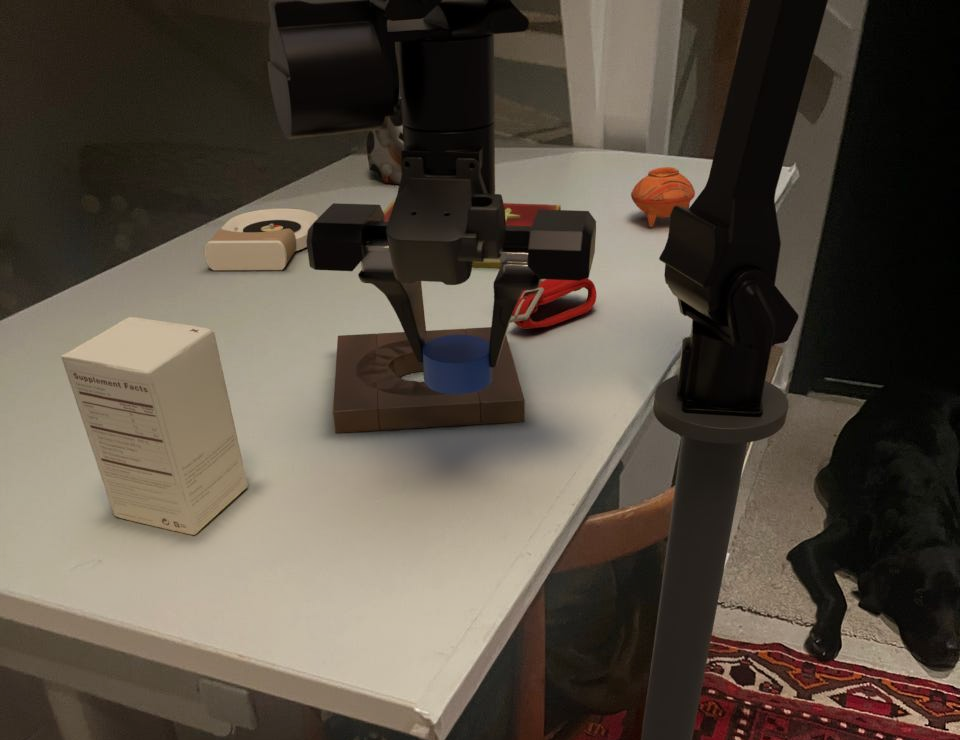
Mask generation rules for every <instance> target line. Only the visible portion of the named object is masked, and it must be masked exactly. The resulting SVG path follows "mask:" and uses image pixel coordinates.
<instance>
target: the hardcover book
mask: <svg viewBox="0 0 960 740" xmlns="http://www.w3.org/2000/svg"><path fill="white" fill-rule="evenodd" d="M394 202H395V199H393V200H392V201H391V202H390V203H389V205H388V206H387V207H386V208H385V209H384V210H383V213H384V217H385V221H387V222H389V218H390V215H391V212H392V209H393V206H394ZM503 204H504V208H505V220H506V225H510V226H532V224H533V221H534V219H535V217H536V214H537V212H538V209H539V210H562V207H561V204H546V203H545V204H543V203H516V202H515V203H511V202H503ZM501 265H502V264H501V263H500V258H499V259H486V258H484V260H483V262H473V263H472V268H488V269H489V268H491V269H500V268H501Z"/></svg>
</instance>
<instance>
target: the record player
mask: <svg viewBox="0 0 960 740" xmlns="http://www.w3.org/2000/svg"><path fill="white" fill-rule="evenodd" d="M318 218H319V216H318V215H317V214H316V213H314V212H312V211H309V210H306V209H305V210H304V209H298V208H266V209H259V210H253V211H249V212H245V213H240V214H238V215H235V216H233V217H231V218H230V219H229V220H228V221H226V222H225V223H224V225H223V226H222V227H221V228H220V229H218V230H217V232H216V233H215V234H214V235H213V236H212V237H211V238H210V240H209V241H208V242H207V243H206V244H205V246H204V256H205V260H206V263H207V266H208V267H209V268H210V269H211V270H212V271H283V270H284V269H285V268H286V266H287V264H288V263H289V261H290V259H291V258H292V256H293V255H294V254H295V252H298V251H300V250H303V249H305V248H307V234H308V229H309V228H310V227H311V225H312V224H313V223H314V222H315V221H316V220H317V219H318Z"/></svg>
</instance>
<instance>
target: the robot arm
mask: <svg viewBox="0 0 960 740" xmlns="http://www.w3.org/2000/svg"><path fill="white" fill-rule="evenodd" d="M828 3H829V0H749V3H748V7H747V11H746V15H745V20H744V25H743V28H742V33H741V37H740V41H739V46H738V50H737V55H736V59H735V63H734V66H733V67H734V68H733V72H732V75H731V80H730V85H729V88H728V93H727V97H726V102H725V106H724V110H723V115H722V118H721V124H720V128H719V132H718V135H717V140H716V144H715V149H714V153H713V158H712V163H711V166H710V170H709V174H708V179H707V181H706V184H705V186H704V188H703V189H702V190H701V192H700V193H699V195H698V196H697V197H696V198H695V199H694V201H693V203H691V205H689V209H688V208H684V207H680V206H675V207H674V208H673V210H672V212H671V215H670V216H669V223H668V224H669V225H668V234H667V240H666V242H665V246H664V248H663V250H662V252H661V254H660V255H659V257H658V260H659V261H660V262H662V263H663V264H664V265H665V266H664V281H665V284H666V285H667V286H668V288H669V290H670V292H671V293H672V295H673V296H675V297H676V298H677V302H678V309H679V312H680V314H681V315H683V316H685V317H688V318H690V319H691V329H690V335H689V336H685V337H683V339H682V341H681V350H680V355H679V356H680V357H679V366H678V373H677V375H678V380H677V395H678V396H679V397H682V412H684V413H691V414H708V415H725V416H742V417H761V416H762V415H763V404H762V394H763V389H764V384H765V381H766V378H767V372H768V367H769V362H770V357H771V353H772V352H771V351H772V348H773V347H774V346H775V345H779V344H784V343H787V342H788V341H789V339H790V336H791V335H792V333H793V330H794V328H795V326H796V325H797V322H798V320H799V313H798V312H797V311H796V310H795V308H793V306H792V304H791V303H790V302H789V301H788V300H787V298H786V297H785V296H784V294H783V293H782V292H781V290H779V289H778V287H777V286H776V280H777V273H778V266H779V261H780V254H781V246H782V241H781V234H780V229H779V227H780V226H779V221H778V213H777V207H776V192H777V188H778V184H779V181H780V177H781V173H782V170H783V165H784V163H785V159H786V156H787V152H788V148H789V144H790V141H791V137H792V133H793V130H794V126H795V123H796V118H797V115H798V111H799V108H800V104H801V101H802V97H803V93H804V90H805V86H806V82H807V78H808V76H809V71H810V68H811V64H812V62H813V57H814V53H815V50H816V46H817V43H818V39H819V35H820V32H821V28H822V25H823V20H824V18H825V13H826V9H827V6H828ZM267 6H268V12H269V19H270V25H269V31H268V33H269V34H268V47H269V48H268V49H269V59H270V60H269V61H267V70H268V79H269V84H270V85H269V86H270V92H271V96H272V101H273V105H274V109H275V113H276V117H277V121H278V123H279V127H280V128H281V132H282V135H283V136H284V138H285V139H286V140H294V139H303V138H312V137H322V136H331V135H340V134H351V133H359V132H360V133H361V132H369V131H370V130H379V129H381V127H382V126H383V123H384V119H385V117H388V116H393V114H394V109H395V108H396V106H397V104H398V98H399V97H401V107H402V122H403V123H402V125H403V141H404V148H403V149H402V150H401V155H402V161H401V172H402V176H401V180H400V185H399V184H398V190H397V193H396V197H395V199H394V200H395V202H394V206H393V209H392V212H391V215H390V218H389V222H387V221H385V217H384V213H383V212H384V210H383V208H382V207H381V205H380V204H373V203H371V204H367V203H335V202H333V203H332V204H331V205H330V206H329V207H328V208H327V209H326V210H325V211H324V212H323V213H321V215H320V216H318V219H317V220H316V221H315V222H314V223H313V224H312V225H311V227H310V228H309V229H308V234H307V247H306V249H307V256H308V257H307V258H308V264H309V265H308V266H309V268H311V269H313V270H315V271H330V272H331V271H332V272H354V270H355V269H356V268H357V267H358V266H359V265H361V269H360V271H359V272H358V274H357V277H358V278H359V280H360V282H361V283H363V284H369V285H370V284H371V285H373V286H374V287H376V289H378V290H379V291H380V292H382V294H383V295H384V296H385V298H386V299H387V300H388V302H389V304H390V306H391V307H392V309H393V310H394V313H395V314H396V316H397V319H398V321H399V323H400V325H401V327H402V330H403V332H405V334H406V337H407V339H408V341H409V343H410V346H411V348H412V350H413V353H414V355H415V357H416V359H417V362H418V363H423V352H422V350H423V347H424V345H425V344H426V342H427V336H426V331H427V325H426V318H425V317H426V316H425V305H424V296H423V287H422V282H431V283H434V282H435V283H436V282H437V283H442V284H444V285H445V286H458V285H462V284H464V283H466V282H467V281H468V280H469V279H470V278H471V275H472V272H473V267H472V263H473V262H483V260H484V258H486V259H499V258H500V263H501V264H502V265H501V268H499V270H498V272H497V274H496V275H495V276H496V277H495V278H494V281H493V305H492V306H493V307H492V317H491V326H490V327H491V335H490V344H489V359H490V367H496V364H497V361H498V358H499V355H500V352H501V348H502V345H503V342H504V339H505V336H507V332H508V329H509V325H510V320H511V317H512V313H513V310H514V308H515V306H516V304H517V302H518V300H519V298H520V296H521V294H522V292H523V291H524V290H534V289H537V288H538V287H539V286H540V283H541V280H542V279H552V280H577V281H580V280H583V279H587V278H588V279H589V278H590V274H591V269H592V266H593V262H594V257H595V254H596V253H595V252H596V239H597V238H596V237H597V220H596V219H595V218H594V216H593V215H592V214H591V212H590V211H589V210H571V209H570V210H569V209H561V210H539V209H538V212H537V214H536V217H535V219H534V221H533V224H532V226H510V225H506V220H505V208H504V204H503V203H504V199H503V195H502V194H500V193H496V140H495V139H496V137H495V136H496V133H495V132H496V131H495V126H496V125H495V119H496V118H495V114H496V113H495V112H496V111H495V35H503V34H504V35H505V34H515V33H525V32H526V31H527V30H528V29H529V27H530V20H529V18H528V17H527V16H526V15H525V14H524V13H523V12H522V11H521V10H520V9H519V8H518V7H517V6H516V5H515V4H514V3H513V1H512V0H268V3H267ZM411 20H414V21H411ZM388 21H391V22H397V21H398V22H399V21H409V22H400V23H389V24H388ZM396 44H397V45H396ZM396 46H397V53H396Z"/></svg>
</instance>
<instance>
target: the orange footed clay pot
mask: <svg viewBox="0 0 960 740" xmlns="http://www.w3.org/2000/svg"><path fill="white" fill-rule="evenodd" d="M695 195H696V191H695V188H694V186H693V184H692V183H691V182H690V180H689V179H688V178H687V177H686V176H685V175H683V174H682V173H680V170H679V169H678V168H676V167H671V166H665V167H657V168H654V169H651V170H649V171H648V172H647V175H646V176H644V177H643V178H641V179H640V180H639V181H638V182H637V183H636V184H635V185H634V187H633V188H632V190H631V193H630V197H631V200H632V203H634V204H635V206H636V207H637V208H638V209H639V210H640V211H641V212H643V214H644V215H645V216H646V218H647V222H648V226H649V227H650V228H654V224H655V222H656V219H657V218H668V217H669V218H670V215H671V212H672V210H673V208H674V207H675V206H680V207H684V208H688V209H689V208H690V206H691V205H690V204H691V201H692V200H693V199H694V198H695Z"/></svg>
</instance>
